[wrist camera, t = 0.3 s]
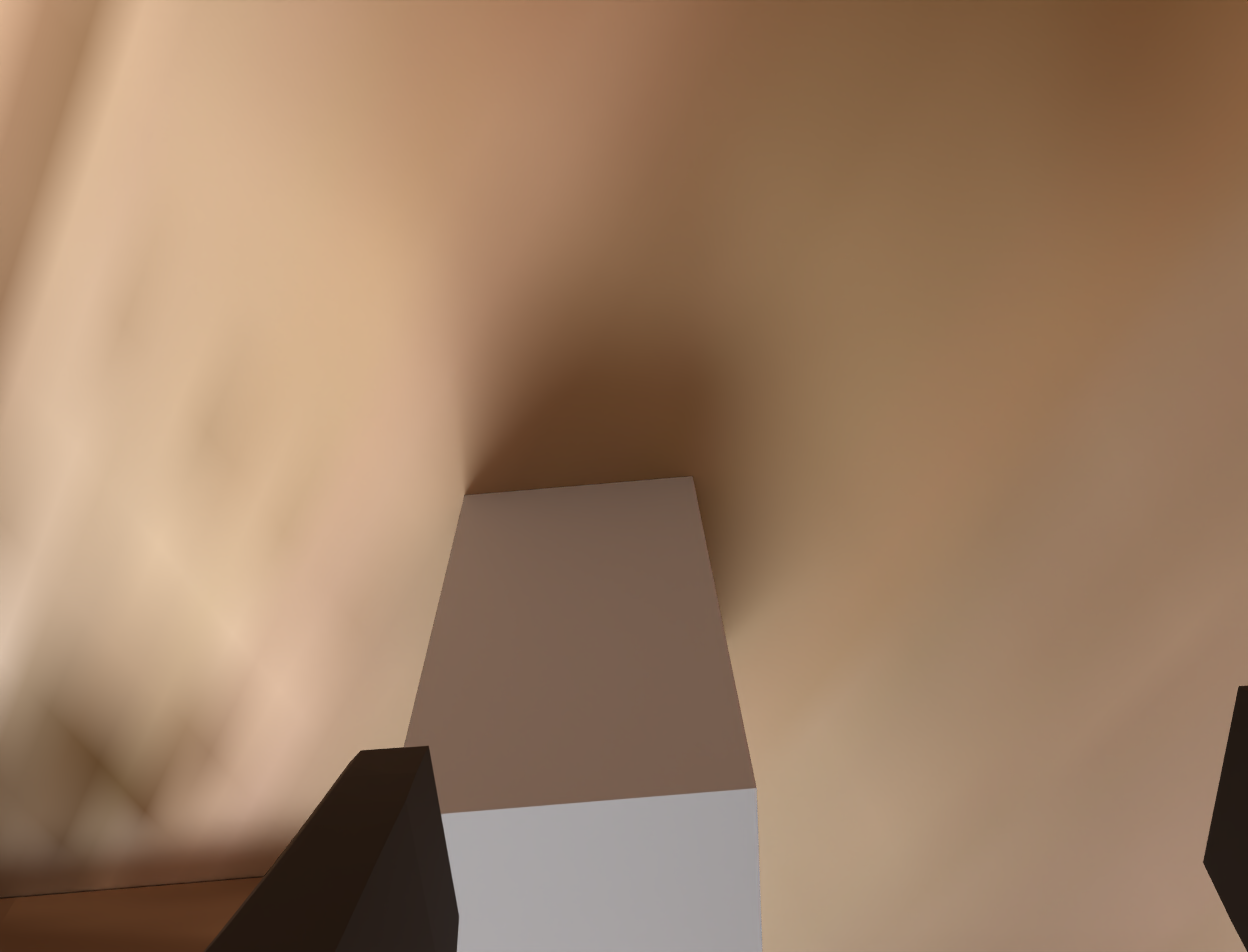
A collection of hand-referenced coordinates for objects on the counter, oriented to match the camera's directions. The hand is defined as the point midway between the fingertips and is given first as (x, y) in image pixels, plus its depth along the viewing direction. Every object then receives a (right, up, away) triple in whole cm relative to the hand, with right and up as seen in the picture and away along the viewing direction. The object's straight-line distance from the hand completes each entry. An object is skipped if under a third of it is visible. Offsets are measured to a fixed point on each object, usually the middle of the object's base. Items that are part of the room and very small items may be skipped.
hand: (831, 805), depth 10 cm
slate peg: (-3, +1, +10) cm, 10 cm away
